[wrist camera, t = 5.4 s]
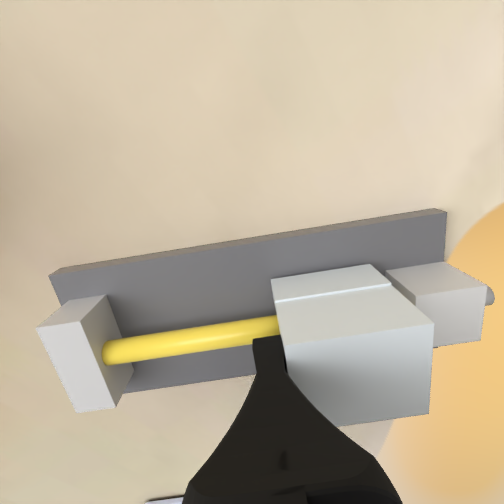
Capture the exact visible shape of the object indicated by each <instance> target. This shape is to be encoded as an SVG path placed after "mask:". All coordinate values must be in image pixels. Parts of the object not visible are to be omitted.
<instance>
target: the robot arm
mask: <svg viewBox="0 0 504 504" xmlns="http://www.w3.org/2000/svg"><path fill="white" fill-rule="evenodd" d="M252 350H253V356H254V361H255V367H256V372H257V373H256V376H255V379H254V381H253V384H252V386H251V389H250V391H249V393H248V396H247V398H246V400H245V402H244V404H243V406H242V408H241V410H240V412H239V413H238V415H237V417H236V419H235V420H234V422H233V424H232V425H231V427H230V429H229V430H228V432H227V433H226V435H225V436H224V438H223V439H222V441H221V442H220V443H219V445H218V446H217V448H216V449H215V451H214V452H213V453H212V455H211V456H210V457H209V459H208V460H207V461H206V462H205V463H204V465H203V466H202V467H201V468H200V470H199V471H198V472H197V473H196V474H195V476H194V477H193V478H192V479H191V480H190V482H189V483H188V486H187V489H186V492H185V495H184V497H180V498H173V499H165V500H158V501H151V502H146V503H144V504H402V501H401V499H400V497H399V495H398V493H397V491H396V490H395V488H394V486H393V484H392V483H391V481H390V479H389V478H388V476H387V475H386V473H385V472H384V470H383V469H382V467H381V466H380V464H379V463H378V461H377V460H376V459H375V457H374V456H373V455H371V454H370V453H369V452H367V451H366V450H364V449H363V448H362V447H360V446H359V445H358V444H356V443H355V442H354V441H352V440H351V439H350V438H349V437H347V436H346V435H345V434H344V433H343V432H341V431H340V430H339V429H338V428H337V427H335V426H334V425H333V424H332V423H331V422H330V421H329V420H328V419H327V418H326V417H325V416H324V415H323V414H322V413H320V412H319V411H318V410H317V409H316V407H315V406H314V405H313V404H312V403H311V402H310V401H309V400H308V399H307V398H306V397H305V395H304V394H303V393H302V392H301V391H300V389H299V388H298V387H297V386H296V384H295V383H294V382H293V380H292V379H291V378H290V376H289V375H288V373H287V369H286V362H285V355H284V348H283V343H282V338H281V334H280V335H274V336H267V337H261V338H254V339H253V342H252Z"/></svg>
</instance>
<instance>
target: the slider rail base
mask: <svg viewBox="0 0 504 504" xmlns="http://www.w3.org/2000/svg"><path fill="white" fill-rule="evenodd" d="M446 219H447V212H445V211H441V210H438V209H435V208H433V209H427V210H421V211H414V212H408V213H402V214H396V215H389V216H383V217H377V218H371V219H364V220H358V221H352V222H346V223H340V224H333V225H327V226H321V227H315V228H308V229H302V230H296V231H290V232H283V233H277V234H271V235H265V236H258V237H252V238H246V239H240V240H233V241H227V242H221V243H215V244H209V245H202V246H196V247H190V248H184V249H177V250H171V251H165V252H159V253H152V254H146V255H140V256H134V257H127V258H121V259H115V260H109V261H102V262H96V263H90V264H84V265H77V266H71V267H65V268H60V269H58V270H57V271H55V272H54V273H52V274H50V275H49V279H50V281H51V283H52V286H53V288H54V290H55V292H56V295H57V297H58V299H59V302H60V304H61V307H60V308H59V309H58V310H57V311H55V312H54V313H53V314H52V315H51V316H49V317H48V318H47V319H46V320H45V321H44V322H42V323H41V324H40V325H39V326H38V327H36V330H37V332H38V334H39V336H40V338H41V340H42V342H43V345H44V347H45V349H46V351H47V353H48V355H49V357H50V359H51V361H52V363H53V365H54V367H55V369H56V372H57V374H58V376H59V378H60V380H61V382H62V384H63V386H64V388H65V390H66V392H67V394H68V396H69V399H70V401H71V403H72V405H73V407H74V409H75V411H76V413H81V412H88V411H95V410H102V409H109V408H116V406H117V404H118V402H119V400H120V398H121V396H122V394H125V393H131V392H138V391H145V390H152V389H159V388H166V387H172V386H179V385H186V384H193V383H200V382H206V381H213V380H220V379H227V378H234V377H241V376H247V375H254V374H256V373H257V372H256V367H255V361H254V356H253V350H252V342H253V339H254V338H261V337H267V336H274V335H280V331H279V325H278V319H277V314H276V309H275V304H274V299H273V293H272V286H271V279H275V278H282V277H288V276H295V275H301V274H308V273H314V272H320V271H327V270H333V269H340V268H346V267H353V266H359V265H365V264H371V265H372V266H373V267H374V268H375V269H376V270H378V271H379V272H380V273H381V274H382V275H383V276H384V277H385V278H387V279H388V280H389V281H390V282H391V285H392V286H393V287H394V288H395V289H397V290H398V291H399V292H400V293H401V294H402V295H403V296H404V297H406V298H407V299H408V300H409V301H410V302H411V303H412V304H413V305H414V306H416V307H417V308H418V309H419V310H420V311H421V312H422V313H423V314H424V315H426V316H427V317H428V318H429V319H430V320H431V321H432V322H433V323H434V337H433V348H438V346H446V345H452V344H458V343H466V342H472V341H479V340H481V332H482V324H483V317H484V309H485V308H484V307H485V306H486V305H492V304H493V302H494V299H495V298H494V293H493V291H492V289H491V288H490V287H489V286H487V285H486V284H484V283H482V282H480V281H479V280H477V279H475V278H473V277H471V276H469V275H467V274H466V273H464V272H462V271H460V270H458V269H457V268H455V267H453V266H451V265H449V264H447V263H445V262H444V249H445V234H446Z"/></svg>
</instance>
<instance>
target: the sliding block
mask: <svg viewBox="0 0 504 504" xmlns="http://www.w3.org/2000/svg"><path fill="white" fill-rule="evenodd" d="M271 286H272V293H273V299H274V304H275V309H276V314H277V319H278V325H279V331H280V334H281V338H282V343H283V348H284V355H285V362H286V369H287V373H288V375H289V376H290V378H291V379H292V380H293V382H294V383H295V384H296V386H297V387H298V388H299V389H300V391H301V392H302V393H303V394H304V395H305V397H306V398H307V399H308V400H309V401H310V402H311V403H312V404H313V405H314V406H315V407H316V409H317V410H318V411H319V412H320V413H322V414H323V415H324V416H325V417H326V418H327V419H328V420H329V421H330V422H331V423H332V424H333V425H334V426H335V427H339V426H346V425H353V424H360V423H367V422H374V421H382V420H389V419H396V418H402V417H409V416H417V415H424V414H429V402H430V386H431V370H432V353H433V337H434V323H433V322H432V321H431V320H430V319H429V318H428V317H427V316H426V315H424V314H423V313H422V312H421V311H420V310H419V309H418V308H417V307H416V306H414V305H413V304H412V303H411V302H410V301H409V300H408V299H407V298H406V297H404V296H403V295H402V294H401V293H400V292H399V291H398V290H397V289H395V288H394V287H393V286H392V285H391V282H390V281H389V280H388V279H387V278H385V277H384V276H383V275H382V274H381V273H380V272H379V271H378V270H376V269H375V268H374V267H373V266H372V265H371V264H365V265H359V266H353V267H346V268H340V269H333V270H327V271H320V272H314V273H308V274H301V275H295V276H288V277H282V278H275V279H271Z"/></svg>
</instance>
